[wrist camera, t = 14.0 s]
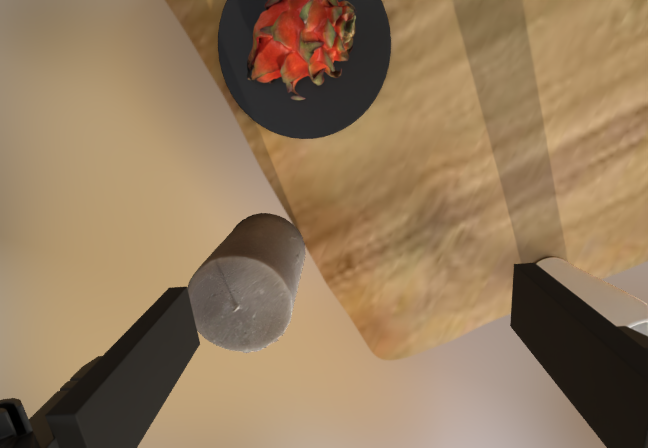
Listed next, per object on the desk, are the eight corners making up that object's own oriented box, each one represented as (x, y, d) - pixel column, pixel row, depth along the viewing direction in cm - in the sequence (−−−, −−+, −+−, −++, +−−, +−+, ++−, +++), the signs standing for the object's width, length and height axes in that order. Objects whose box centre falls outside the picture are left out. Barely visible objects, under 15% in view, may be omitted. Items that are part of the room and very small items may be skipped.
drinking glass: (574, 298, 45) (683, 384, 31) (518, 302, 46) (599, 389, 31) (579, 247, 43) (697, 314, 29) (520, 252, 44) (608, 321, 29)
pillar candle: (215, 228, 45) (156, 283, 30) (288, 201, 43) (262, 245, 29) (249, 295, 47) (208, 375, 33) (318, 271, 46) (308, 344, 31)
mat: (386, -61, 35) (386, -64, 34) (393, 130, 40) (394, 130, 40) (204, -38, 36) (202, -40, 36) (234, 145, 41) (233, 146, 41)
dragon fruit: (365, 26, 38) (270, 82, 42) (328, -60, 32) (220, 15, 36) (383, 69, 33) (273, 129, 37) (343, -23, 27) (215, 60, 30)
